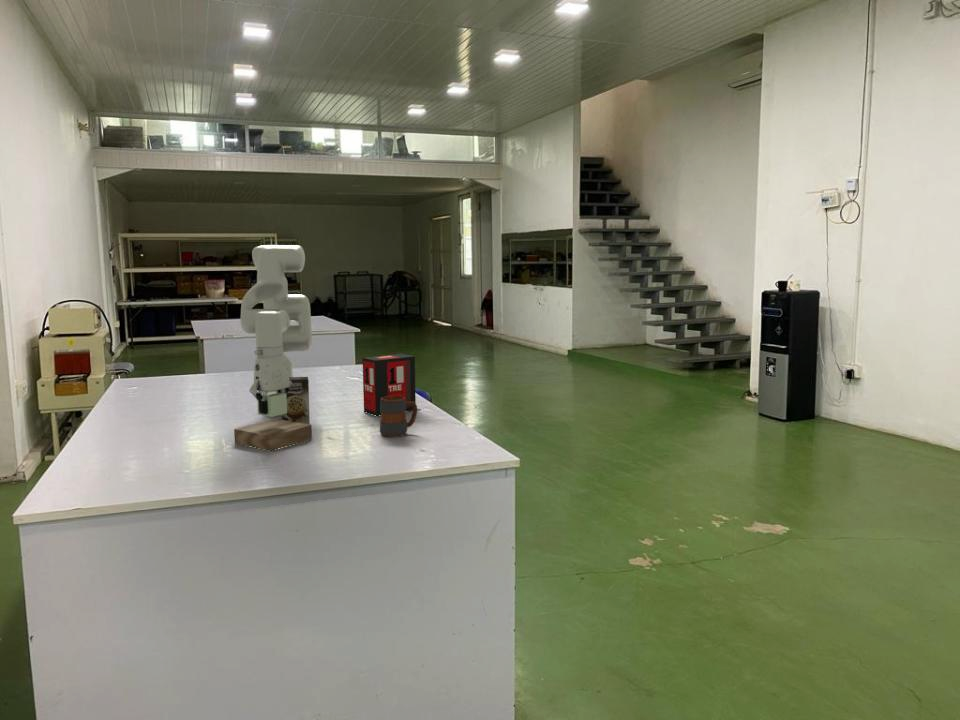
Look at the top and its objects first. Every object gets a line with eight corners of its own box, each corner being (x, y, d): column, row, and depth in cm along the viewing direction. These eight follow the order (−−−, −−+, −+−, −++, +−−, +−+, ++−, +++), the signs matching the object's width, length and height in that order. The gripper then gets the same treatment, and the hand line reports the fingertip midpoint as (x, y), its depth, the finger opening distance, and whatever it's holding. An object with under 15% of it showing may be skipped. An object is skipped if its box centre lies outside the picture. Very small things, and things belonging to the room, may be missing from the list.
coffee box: (281, 428, 230) (279, 380, 228) (281, 424, 236) (279, 377, 234) (310, 427, 233) (308, 378, 230) (309, 422, 239) (307, 375, 236)
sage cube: (258, 414, 212) (257, 395, 211) (273, 411, 217) (272, 391, 216) (271, 416, 209) (270, 397, 208) (287, 413, 214) (286, 393, 213)
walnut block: (234, 445, 212) (234, 428, 211) (276, 433, 225) (275, 418, 224) (271, 452, 203) (270, 436, 202) (312, 440, 216) (311, 424, 216)
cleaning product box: (402, 406, 265) (401, 353, 262) (415, 410, 258) (414, 356, 255) (363, 412, 254) (362, 357, 251) (376, 416, 248) (375, 360, 245)
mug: (420, 435, 221) (419, 399, 219) (381, 438, 218) (380, 401, 216) (415, 429, 229) (414, 394, 227) (378, 431, 226) (377, 396, 224)
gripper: (254, 356, 201) (257, 418, 203) (300, 350, 215) (302, 408, 218) (237, 354, 205) (240, 415, 207) (283, 348, 219) (286, 405, 222)
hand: (272, 411), depth 213 cm, fingers closed on sage cube, 6 cm apart
